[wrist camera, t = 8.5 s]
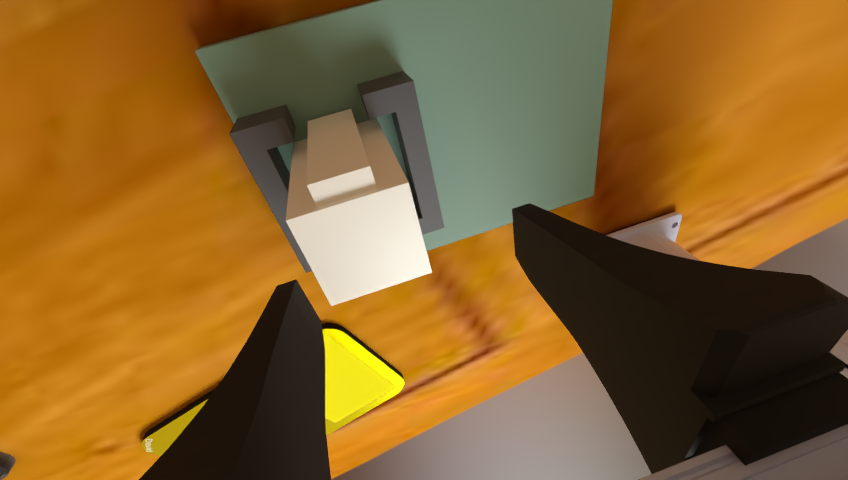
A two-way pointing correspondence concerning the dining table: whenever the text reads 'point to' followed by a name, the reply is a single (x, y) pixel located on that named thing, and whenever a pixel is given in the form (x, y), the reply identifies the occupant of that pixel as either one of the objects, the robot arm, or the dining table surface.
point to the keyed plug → (353, 209)
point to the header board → (431, 101)
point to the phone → (5, 464)
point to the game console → (344, 388)
